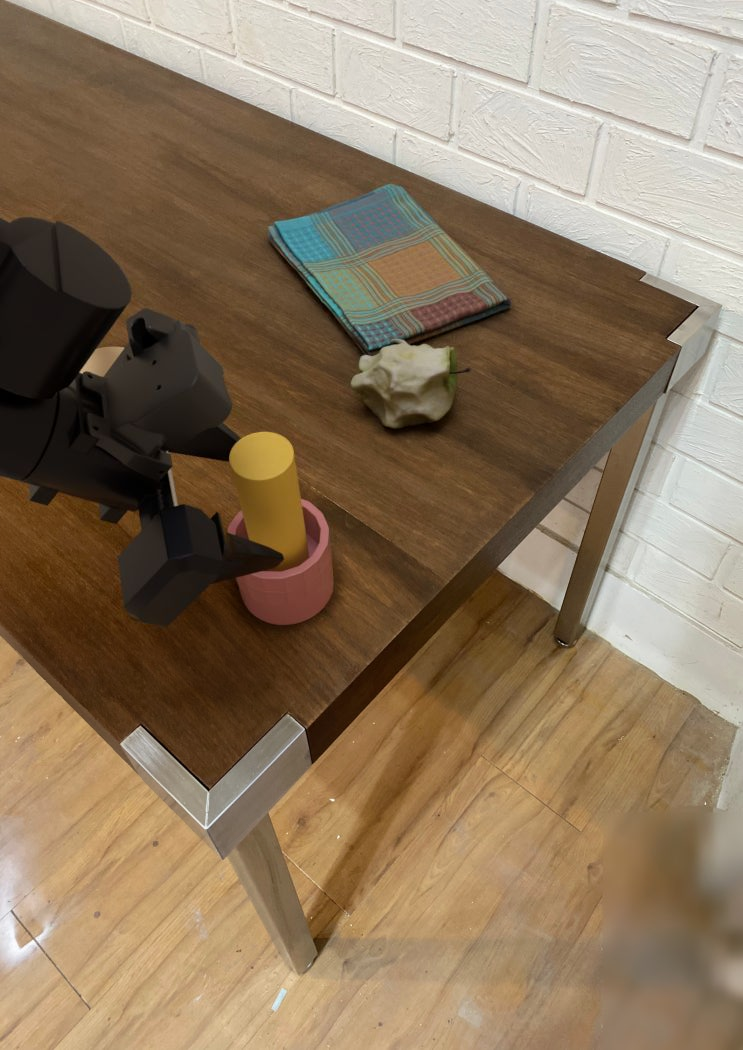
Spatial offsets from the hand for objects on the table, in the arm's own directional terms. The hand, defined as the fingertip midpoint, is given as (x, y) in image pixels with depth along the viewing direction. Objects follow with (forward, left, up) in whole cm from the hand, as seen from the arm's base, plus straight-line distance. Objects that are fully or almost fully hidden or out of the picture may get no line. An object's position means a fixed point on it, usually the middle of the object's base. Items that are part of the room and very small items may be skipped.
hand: (264, 506), depth 52 cm
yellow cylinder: (0, 0, -7) cm, 7 cm away
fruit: (+17, +15, -10) cm, 24 cm away
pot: (0, 0, -10) cm, 10 cm away
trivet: (-9, +28, -10) cm, 31 cm away
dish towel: (+22, +34, -10) cm, 41 cm away
